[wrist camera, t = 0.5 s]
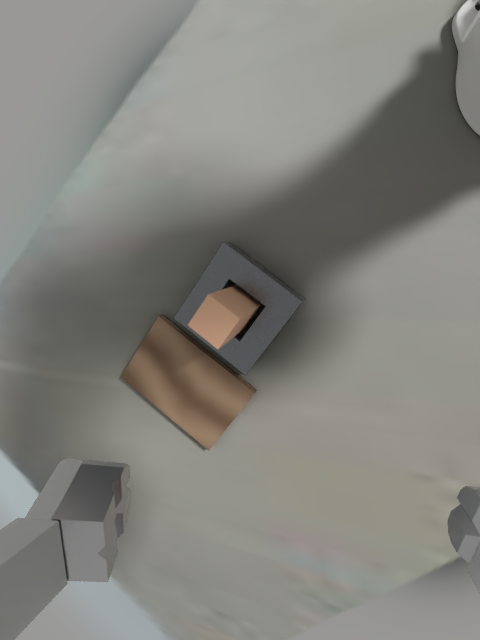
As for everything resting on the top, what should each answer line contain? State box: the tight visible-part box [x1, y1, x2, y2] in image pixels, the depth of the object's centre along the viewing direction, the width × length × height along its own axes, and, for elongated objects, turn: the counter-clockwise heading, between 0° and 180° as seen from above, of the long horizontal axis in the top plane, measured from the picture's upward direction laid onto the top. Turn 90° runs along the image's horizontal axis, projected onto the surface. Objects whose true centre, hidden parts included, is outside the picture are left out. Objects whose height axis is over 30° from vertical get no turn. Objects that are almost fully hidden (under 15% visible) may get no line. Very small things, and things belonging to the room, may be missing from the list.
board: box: [121, 315, 256, 450], centre depth 50 cm, size 11×16×1 cm
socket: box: [174, 242, 304, 375], centre depth 45 cm, size 11×11×2 cm
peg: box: [188, 285, 262, 349], centre depth 42 cm, size 4×4×10 cm
